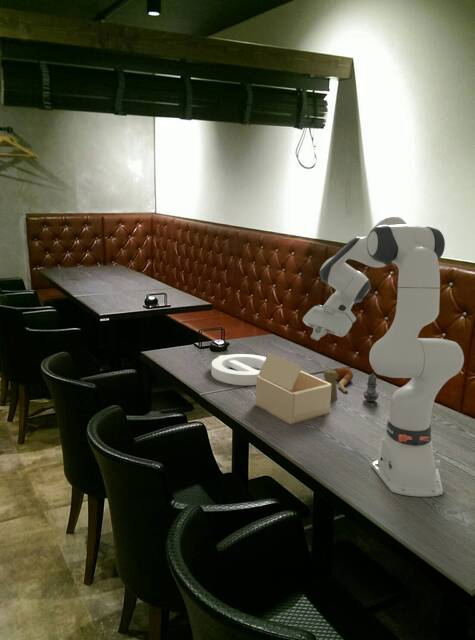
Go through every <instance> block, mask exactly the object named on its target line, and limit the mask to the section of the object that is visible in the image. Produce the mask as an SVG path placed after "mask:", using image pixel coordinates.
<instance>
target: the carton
mask: <svg viewBox="0 0 475 640" xmlns="http://www.w3.org/2000/svg"><path fill="white" fill-rule="evenodd" d="M255 387H256V388H255V390H256V391H255V406H257V407H259V408H261V409H262V410H264V411H266V412H268V413H269V414H271V415H273V416H274V417H277V419H279V420H281V421H283V422H285V423H287V424H289V425H293V424H297V423H301V422H305V421H307V420H312V419H314V418H319V417H323V416H325V415H329V414H330V409H331V402H332V401H331V387H332V384H331V383H328V382H326V381H325V379H324V380H323V379H321V378H319V377H316V376H314V375H313V374H310V373H307V372H305V371H303V370H301V371H300V373H299V375H298V377H297V379H296V382H295V384H294V386H293V388H292V390H291V391H290V390H288V389H286V388H284V387H282V386H280V385H278V384H276V383H273V382H271V381H269V380H267V379H265V378H263V377H261V376H257V382H256V385H255Z"/></svg>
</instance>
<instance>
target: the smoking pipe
mask: <svg viewBox="0 0 475 640" xmlns="http://www.w3.org/2000/svg"><path fill="white" fill-rule="evenodd" d="M334 371H336V372H337V374H338V378H337V379H336V381H339V382H338V387H339V389H340V390H341V391H342V392H343V393H344V394H348V393H349V391H348V389H347V388H345V385H347V384H348V383H350V381H351V380H353V379H354V373H353V371H352V370H351V369H350V368H349V367H346V366H341V367H337V368H335V370H334Z"/></svg>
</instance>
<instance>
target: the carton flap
mask: <svg viewBox="0 0 475 640" xmlns="http://www.w3.org/2000/svg"><path fill="white" fill-rule="evenodd" d="M265 357H266V359H265V362H264V364H263V366H262V368H261V369H259V370H260V372H259V374H258V375H259V376H261V377H263V378H265V379H267V380H269V381H271V382H273V383H276V384H278V385H280V386H282V387H284V388H286V389H288V390H290V391H291V390H292V388H293V386H294V384H295V382H296V379H297V377H298V375H299V373H300V371H302V369H303V366H301V365H299V364H298V363H294V362H292V361H290V360H288V359H286V358H283V357H281V356H278V355H276V354H273V353H271V352H268V353H267V356H265Z"/></svg>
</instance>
